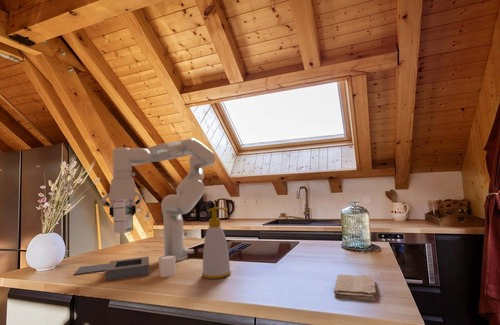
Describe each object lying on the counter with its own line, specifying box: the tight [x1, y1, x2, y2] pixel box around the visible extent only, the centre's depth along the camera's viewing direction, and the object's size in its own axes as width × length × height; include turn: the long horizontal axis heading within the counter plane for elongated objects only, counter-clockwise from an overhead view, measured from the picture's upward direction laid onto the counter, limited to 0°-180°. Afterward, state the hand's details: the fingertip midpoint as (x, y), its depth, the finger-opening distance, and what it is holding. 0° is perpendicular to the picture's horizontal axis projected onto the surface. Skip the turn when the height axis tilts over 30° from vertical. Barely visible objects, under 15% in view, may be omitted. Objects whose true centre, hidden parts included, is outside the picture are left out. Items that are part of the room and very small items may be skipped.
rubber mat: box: [73, 262, 110, 276], centre depth 129 cm, size 12×12×1 cm
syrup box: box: [112, 199, 134, 234], centre depth 124 cm, size 6×6×14 cm
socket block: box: [104, 256, 150, 282], centre depth 121 cm, size 16×16×4 cm
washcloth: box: [333, 274, 377, 302], centre depth 90 cm, size 12×18×3 cm, turn 160°
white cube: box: [157, 256, 177, 278], centre depth 115 cm, size 7×7×7 cm
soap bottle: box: [201, 206, 232, 280], centre depth 113 cm, size 11×12×26 cm
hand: (123, 215), depth 124 cm, fingers closed on syrup box, 7 cm apart
